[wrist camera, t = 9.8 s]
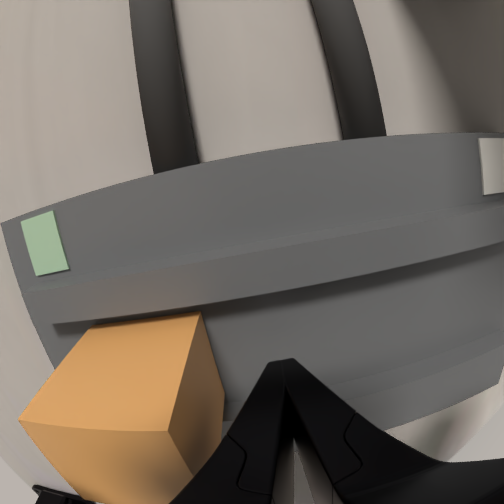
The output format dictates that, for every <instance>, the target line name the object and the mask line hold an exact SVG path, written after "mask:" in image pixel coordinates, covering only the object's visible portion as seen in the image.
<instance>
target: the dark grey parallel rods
mask: <svg viewBox="0 0 504 504" xmlns="http://www.w3.org/2000/svg"><path fill="white" fill-rule="evenodd" d="M311 2H312V5H313V8H314V11H315V15H316V18H317V22H318V25H319V29H320V32H321V36H322V40H323V44H324V48H325V51H326V55H327V60H328V64H329V68H330V72H331V76H332V81H333V85H334V90H335V95H336V99H337V104H338V109H339V114H340V119H341V125H342V130H343V136H344V140H350V139H360V138H370V137H382V136H387V135H386V129H385V123H384V118H383V113H382V107H381V102H380V98H379V93H378V88H377V84H376V80H375V75H374V71H373V67H372V63H371V59H370V55H369V52H368V48H367V44H366V41H365V37H364V34H363V30H362V27H361V24H360V21H359V17H358V14H357V11H356V8H355V5H354V2H353V0H311ZM129 7H130V18H131V29H132V38H133V47H134V56H135V64H136V71H137V79H138V86H139V92H140V99H141V106H142V112H143V118H144V124H145V130H146V135H147V141H148V146H149V152H150V157H151V162H152V167H153V172H154V174H158V173H162V172H166V171H170V170H174V169H178V168H183V167H187V166H192V165H196V164H198V160H197V155H196V150H195V144H194V139H193V134H192V128H191V123H190V118H189V112H188V107H187V101H186V95H185V90H184V84H183V78H182V72H181V66H180V60H179V54H178V48H177V41H176V35H175V28H174V22H173V15H172V8H171V1H170V0H129Z"/></svg>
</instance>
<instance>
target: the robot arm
mask: <svg viewBox="0 0 504 504" xmlns="http://www.w3.org/2000/svg"><path fill="white" fill-rule="evenodd" d="M294 440H295V443H296V447H297V450H298V453H299V456H300V459H301V462H302V465H303V468H304V471H305V474H306V477H307V480H308V483H309V486H310V489H311V493H312V496H313V499H314V502H315V504H504V458H500V459H492V460H483V461H470V462H453V463H452V462H451V463H450V462H443V461H439V460H436V459H433V458H431V457H429V456H426V455H425V454H423V453H421V452H419V451H417V450H415V449H414V448H412V447H410V446H408V445H406V444H404V443H403V442H401V441H399V440H397V439H396V438H394V437H392V436H391V435H389V434H387V433H386V432H384V431H383V430H381V429H379V428H378V427H376V426H375V425H374V424H372V423H371V422H370V421H368V420H367V419H366V418H364V417H363V416H362V415H361V414H360V413H358V412H356V410H355V409H353V408H352V407H351V406H350V405H349V404H347V403H346V402H345V401H344V400H343V399H341V398H340V397H339V396H338V395H337V394H335V393H334V392H333V391H332V390H331V389H329V388H328V387H327V386H326V385H325V384H324V383H322V382H321V381H320V380H319V379H318V378H316V377H315V376H314V375H313V374H312V373H311V372H310V371H308V370H307V369H306V368H305V367H304V366H303V365H301V364H300V363H299V362H298V361H297V360H296V359H295V358H288V359H282V360H277V361H271V362H268V363H267V365H266V367H265V368H264V370H263V372H262V374H261V375H260V377H259V379H258V381H257V382H256V384H255V386H254V388H253V389H252V391H251V393H250V394H249V396H248V398H247V400H246V401H245V403H244V405H243V406H242V408H241V410H240V411H239V413H238V415H237V416H236V418H235V420H234V421H233V423H232V425H231V426H230V428H229V430H228V431H227V433H226V435H225V436H224V437H223V439H222V441H221V442H220V444H219V445H218V447H217V448H216V450H215V451H214V453H213V454H212V455H211V457H210V458H209V459H208V461H207V462H206V463H205V464H204V465H203V467H202V468H201V469H200V470H199V471H198V473H197V474H196V475H195V476H194V477H193V478H192V479H191V480H190V482H189V483H188V484H187V485H186V486H185V487H184V488H183V489H182V490H181V491H180V492H179V493H178V495H177V496H176V497H175V498H174V499H173V500H172V501H171V502H170V503H169V504H294ZM32 489H33V490H34V491H35V492H36V493H37V494H38V495H39V497H38V499H37V501H36V503H35V504H93V503H92V502H91V501H89V500H84V499H83V498H82V497H79V496H74V495H70V494H66V493H62V492H58V491H54V490H51V489H47V488H44V487H40V486H37V485H33V487H32Z"/></svg>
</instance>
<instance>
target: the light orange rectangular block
mask: <svg viewBox="0 0 504 504" xmlns="http://www.w3.org/2000/svg"><path fill="white" fill-rule="evenodd" d="M224 396H225V392H224V389H223V386H222V383H221V379H220V376H219V373H218V370H217V366H216V363H215V360H214V356H213V353H212V350H211V346H210V343H209V339H208V336H207V332H206V329H205V325H204V322H203V318H202V314H201V311H196V312H190V313H183V314H176V315H169V316H162V317H155V318H147V319H139V320H131V321H123V322H115V323H107V324H98V325H92V326H91V327H90V328H89V329H88V330H87V332H86V333H85V334H84V335H83V336H82V338H81V339H80V340H79V341H78V342H77V344H76V345H75V346H74V347H73V348H72V350H71V351H70V352H69V353H68V355H67V356H66V357H65V358H64V359H63V361H62V362H61V363H60V364H59V366H58V367H57V368H56V369H55V371H54V372H53V373H52V375H51V376H50V377H49V378H48V380H47V381H46V382H45V384H44V385H43V386H42V387H41V389H40V390H39V391H38V393H37V394H36V395H35V397H34V398H33V399H32V401H31V402H30V403H29V405H28V406H27V407H26V409H25V410H24V411H23V413H22V414H21V415H20V417H19V418H18V421H19V422H20V424H21V425H22V427H23V428H24V429H25V431H26V432H27V434H28V435H29V436H30V438H31V439H32V440H33V442H34V443H35V444H36V446H37V447H38V448H39V449H40V451H41V452H42V453H43V454H44V456H45V457H46V458H47V459H48V461H49V462H50V463H51V464H52V465H53V467H54V468H55V469H56V470H57V471H58V472H59V474H60V475H61V476H62V477H63V478H64V479H65V480H66V481H67V482H68V483H69V485H70V486H71V487H72V488H73V489H74V490H75V491H76V492H77V493H78V494H79V495H80V496H81V497H82V498H83V499H84V500H89V501H94V502H99V503H105V504H169V503H170V502H171V501H172V500H173V499H174V498H175V497H176V496H177V495H178V493H179V492H180V491H181V490H182V489H183V488H184V487H185V486H186V485H187V484H188V483H189V482H190V480H191V479H192V478H193V477H194V476H195V475H196V474H197V473H198V471H199V470H200V469H201V468H202V467H203V465H204V464H205V463H206V462H207V461H208V459H209V458H210V457H211V455H212V454H213V453H214V451H215V450H216V448H217V447H218V445H219V444H220V442H221V434H222V421H223V409H224Z"/></svg>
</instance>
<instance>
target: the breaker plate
mask: <svg viewBox="0 0 504 504" xmlns="http://www.w3.org/2000/svg"><path fill="white" fill-rule="evenodd" d="M1 227H2V231H3V235H4V238H5V242H6V246H7V249H8V253H9V256H10V260H11V263H12V266H13V269H14V272H15V275H16V278H17V281H18V284H19V287H20V290H21V293H22V297H23V299H24V302H25V305H26V307H27V310H28V312H29V315H30V317H31V320H32V322H33V325H34V326H35V328H36V331H37V333H38V335H39V337H40V340H41V342H42V344H43V346H44V348H45V350H46V353H47V355H48V357H49V359H50V361H51V363H52V365H53V367H54V369H56V368H57V367H58V366H59V364H60V363H61V362H62V361H63V359H64V358H65V357H66V356H67V355H68V353H69V352H70V351H71V350H72V348H73V347H74V346H75V345H76V344H77V342H78V341H79V340H80V339H81V338H82V336H83V335H84V334H85V333H86V332H87V330H88V329H89V328H90V327H91V326H92V325H98V324H107V323H115V322H123V321H131V320H139V319H147V318H155V317H162V316H169V315H176V314H183V313H190V312H196V311H201V314H202V318H203V322H204V325H205V329H206V332H207V336H208V339H209V343H210V346H211V350H212V353H213V356H214V360H215V363H216V366H217V370H218V373H219V376H220V379H221V383H222V386H223V389H224V392H225V396H224V409H223V421H222V434H221V441H222V439H223V437H224V436H225V435H226V433H227V431H228V430H229V428H230V426H231V425H232V423H233V421H234V420H235V418H236V416H237V415H238V413H239V411H240V410H241V408H242V406H243V405H244V403H245V401H246V400H247V398H248V396H249V394H250V393H251V391H252V389H253V388H254V386H255V384H256V382H257V381H258V379H259V377H260V375H261V374H262V372H263V370H264V368H265V367H266V365H267V363H268V362H271V361H277V360H282V359H288V358H295V359H296V360H297V361H298V362H299V363H300V364H301V365H303V366H304V367H305V368H306V369H307V370H308V371H310V372H311V373H312V374H313V375H314V376H315V377H316V378H318V379H319V380H320V381H321V382H322V383H324V384H325V385H326V386H327V387H328V388H329V389H331V390H332V391H333V392H334V393H335V394H337V395H338V396H339V397H340V398H341V399H343V400H344V401H345V402H346V403H347V404H349V405H350V406H351V407H352V408H353V409H355V410H356V412H358V413H360V414H361V415H362V416H363V417H364V418H366V419H367V420H368V421H370V422H371V423H372V424H374V425H375V426H376V427H378V428H379V429H381V430H383V431H384V430H387V429H390V428H393V427H396V426H400V425H402V424H405V423H408V422H411V421H414V420H417V419H419V418H422V417H425V416H427V415H430V414H433V413H435V412H438V411H440V410H443V409H445V408H447V407H450V406H452V405H454V404H457V403H459V402H461V401H463V400H466V399H468V398H470V397H472V396H474V395H476V394H478V393H480V392H482V391H484V390H486V389H488V388H490V387H492V386H494V385H496V384H498V382H499V379H500V376H501V373H502V370H503V366H504V133H431V134H411V135H395V136H382V137H370V138H360V139H350V140H341V141H332V142H324V143H316V144H309V145H301V146H295V147H288V148H281V149H275V150H269V151H263V152H257V153H252V154H246V155H241V156H235V157H230V158H225V159H220V160H215V161H210V162H205V163H201V164H196V165H192V166H187V167H183V168H178V169H174V170H170V171H166V172H162V173H158V174H154V175H150V176H146V177H142V178H138V179H134V180H131V181H127V182H123V183H120V184H116V185H113V186H109V187H106V188H102V189H99V190H96V191H92V192H89V193H86V194H82V195H79V196H76V197H73V198H70V199H67V200H64V201H61V202H58V203H55V204H52V205H49V206H46V207H43V208H40V209H37V210H35V211H32V212H29V213H26V214H24V215H21V216H18V217H16V218H13V219H10V220H8V221H5V222H3V223H1ZM296 451H298V450H297V447H296V443H295V440H294V452H296Z"/></svg>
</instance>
